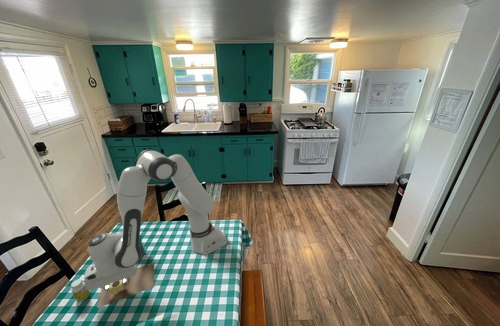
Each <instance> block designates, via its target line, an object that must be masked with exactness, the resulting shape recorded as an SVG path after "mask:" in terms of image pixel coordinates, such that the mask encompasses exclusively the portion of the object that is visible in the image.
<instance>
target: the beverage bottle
mask: <svg viewBox="0 0 500 326" xmlns="http://www.w3.org/2000/svg"><path fill="white" fill-rule="evenodd" d="M143 243H144V242H143V239H142V236H140V237H139V246H140V249H141V251H142V256H144V254H145V251H146V249H145V246H144V244H143Z"/></svg>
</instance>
